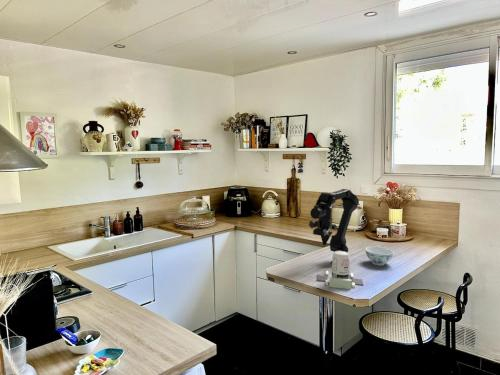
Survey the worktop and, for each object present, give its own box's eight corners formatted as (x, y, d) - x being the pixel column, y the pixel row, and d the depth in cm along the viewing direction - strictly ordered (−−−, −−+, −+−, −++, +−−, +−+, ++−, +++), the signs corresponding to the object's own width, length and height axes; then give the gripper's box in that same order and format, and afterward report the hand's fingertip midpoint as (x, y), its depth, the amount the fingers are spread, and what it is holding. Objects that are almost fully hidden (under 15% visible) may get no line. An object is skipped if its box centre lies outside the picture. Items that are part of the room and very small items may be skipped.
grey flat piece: (317, 272, 195) (318, 264, 194) (361, 276, 190) (361, 268, 190) (316, 285, 177) (316, 277, 176) (364, 290, 172) (365, 282, 172)
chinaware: (359, 262, 211) (360, 249, 210) (373, 257, 221) (374, 245, 220) (383, 270, 200) (384, 256, 199) (397, 264, 209) (398, 251, 208)
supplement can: (335, 278, 187) (337, 249, 185) (351, 282, 182) (353, 252, 180) (328, 283, 180) (330, 253, 178) (344, 287, 175) (346, 256, 173)
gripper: (318, 211, 209) (317, 238, 211) (304, 217, 193) (303, 246, 195) (337, 214, 202) (336, 242, 204) (324, 220, 187) (322, 250, 189)
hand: (324, 245), depth 198 cm, fingers closed
